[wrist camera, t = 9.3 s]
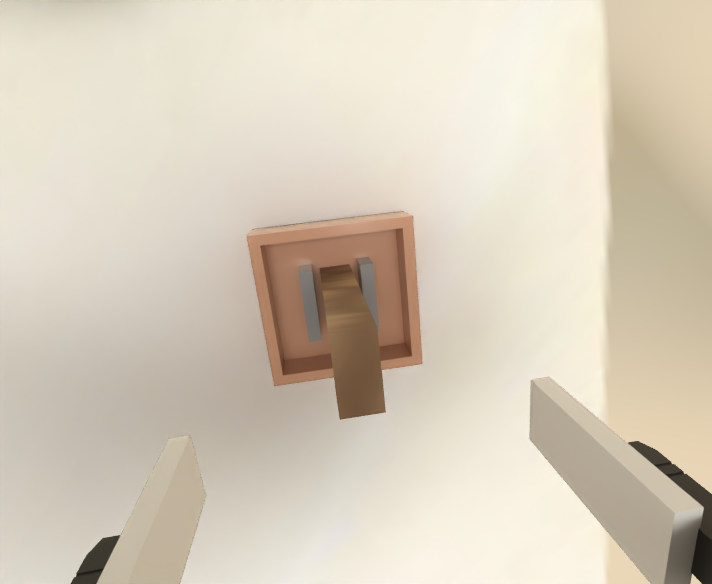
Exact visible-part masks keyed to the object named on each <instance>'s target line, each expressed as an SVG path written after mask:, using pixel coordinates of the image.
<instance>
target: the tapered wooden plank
mask: <svg viewBox="0 0 712 584" xmlns="http://www.w3.org/2000/svg"><path fill="white" fill-rule="evenodd" d="M320 275H321V283H322V290H323V298H324V306H325V313H326V321H327V329H328V336H329V344H330V351H331V358H332V366H333V373H334V380H335V388H336V395H337V403H338V410H339V417H340V419H346V418H353V417H359V416H365V415H372V414H378V413H384V412H386V411H385V401H384V391H383V380H382V370H381V360H380V350H379V339H378V329H377V325H376V323H375V321H374V318H373V316H372V314H371V312H370V309H369V307H368V305H367V303H366V300H365V298H364V296H363V294H362V292H361V289H360V287H359V285H358V283H357V280H356V278H355V276H354V274H353V272H352V269H351V267H350V265H349V264H345V265H338V266H330V267H322V268H320Z"/></svg>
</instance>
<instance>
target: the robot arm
mask: <svg viewBox="0 0 712 584" xmlns="http://www.w3.org/2000/svg"><path fill="white" fill-rule="evenodd" d="M529 439H530V440H531V441H532V443H533V444H534V445H535V446H536V447H537V449H538V450H539V451H540V452H541V453H542V454H543V456H544V457H545V458H546V459H547V460H548V462H549V463H550V464H551V465H552V466H553V468H554V469H555V470H556V471H557V472H558V474H559V475H560V476H561V477H562V478H563V480H564V481H565V482H566V483H567V484H568V485H569V487H570V488H571V489H572V490H573V491H574V493H575V494H576V495H577V496H578V497H579V499H580V500H581V501H582V502H583V503H584V505H585V506H586V507H587V508H588V509H589V511H590V512H591V513H592V514H593V515H594V517H595V518H596V519H597V520H598V521H599V522H600V524H601V525H602V526H603V527H604V528H605V530H606V531H607V532H608V533H609V534H610V535H611V537H612V538H613V539H614V540H615V541H616V543H617V544H618V545H619V546H620V548H621V549H622V550H623V551H624V552H625V553H626V555H627V556H628V557H629V558H630V559H631V561H632V562H633V563H634V564H635V565H636V567H637V568H638V569H639V570H640V571H641V572H642V574H643V575H644V576H645V577H646V579H647V580H648V581H649V582H650V583H651V584H690V582H691V576H692V574H693V575H694V576H695V577H696V578H697V579H698V580H699V581H700V582H701V583H702V584H712V494H711V493H710V492H708V491H707V490H706V489H705V488H703V487H702V486H701V485H700V484H698V483H697V482H696V481H694V480H693V479H692V478H691V477H689V476H688V475H687V474H684V473H683V471H682V470H681V469H679V468H678V467H677V466H676V465H674V464H672V463H671V461H669V460H668V459H667V458H666V457H664V456H663V455H662V454H661V453H659V452H658V451H657V450H655V449H653V448H651V447H649V446H647V445H645V444H643V443H640V442H639V441H635V442H629V443H627V442H626V441H625V440H623V439H622V438H621V437H620V436H619V435H618V434H616V433H615V432H614V431H613V430H612V429H610V428H609V427H608V426H607V425H606V424H604V423H603V422H602V421H601V420H600V419H599V418H597V417H596V416H595V415H594V414H593V413H591V412H590V411H589V410H588V409H587V408H586V407H584V406H583V405H582V404H581V403H580V402H578V401H577V400H576V399H575V398H574V397H573V396H571V395H570V394H569V393H568V392H567V391H565V390H564V389H563V388H562V387H561V386H560V385H558V384H557V383H556V382H555V381H554V380H552V379H551V378H550V377H545V378H539V379H533V380H531V394H530V438H529ZM205 498H206V493H205V490H204V486H203V482H202V478H201V474H200V471H199V467H198V463H197V459H196V455H195V452H194V448H193V444H192V440H191V436H190V435H187V436H181V437H175V438H169V439H168V441H167V443H166V445H165V447H164V449H163V451H162V453H161V455H160V457H159V459H158V461H157V463H156V465H155V467H154V469H153V471H152V473H151V475H150V477H149V479H148V481H147V483H146V485H145V487H144V489H143V491H142V493H141V495H140V497H139V499H138V501H137V503H136V505H135V507H134V509H133V511H132V513H131V515H130V517H129V519H128V521H127V523H126V525H125V527H124V529H123V531H122V533H121V535H118V536H113V537H107V538H103V539H102V540H101V541H100V542H99V543H98V544H97V545H96V546H95V547H94V548H93V549H92V550H91V551H90V552H89V553H88V554H87V556H86V557H85V559H84V561H83V563H82V564H81V566H80V568H79V570H78V572H77V573H76V574H77V575H76V577H74V579H73V581H72V582H71V584H180V582H181V579H182V575H183V572H184V569H185V565H186V562H187V558H188V555H189V552H190V548H191V545H192V542H193V538H194V535H195V531H196V528H197V525H198V521H199V518H200V514H201V511H202V508H203V504H204V501H205Z"/></svg>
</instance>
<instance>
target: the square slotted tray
mask: <svg viewBox="0 0 712 584" xmlns="http://www.w3.org/2000/svg"><path fill="white" fill-rule="evenodd" d="M247 241H248V246H249V251H250V257H251V262H252V268H253V273H254V278H255V284H256V289H257V295H258V300H259V306H260V311H261V316H262V322H263V327H264V333H265V338H266V344H267V349H268V354H269V360H270V365H271V371H272V376H273V381H274V386H279V385H285V384H292V383H299V382H305V381H312V380H319V379H325V378H332V377H334V373H333V366H332V358H331V351H330V344H329V336H328V329H327V321H326V313H325V306H324V298H323V290H322V283H321V275H320V268H322V267H330V266H338V265H345V264H349V265H350V267H351V269H352V272H353V274H354V276H355V278H356V280H357V283H358V285H359V287H360V289H361V292H362V294H363V296H364V298H365V300H366V303H367V305H368V307H369V309H370V312H371V314H372V316H373V318H374V321H375V323H376V325H377V329H378V339H379V350H380V360H381V370H385V369H392V368H398V367H405V366H411V365H418V364H422V351H421V336H420V320H419V305H418V289H417V274H416V259H415V243H414V228H413V216H412V215H410V214H407V213H405V212H403V211H400V212H391V213H383V214H375V215H366V216H358V217H350V218H342V219H333V220H325V221H317V222H308V223H300V224H292V225H284V226H275V227H267V228H259V229H253V230H252V231H251V232H250V233H249V234H248V235H247Z"/></svg>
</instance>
